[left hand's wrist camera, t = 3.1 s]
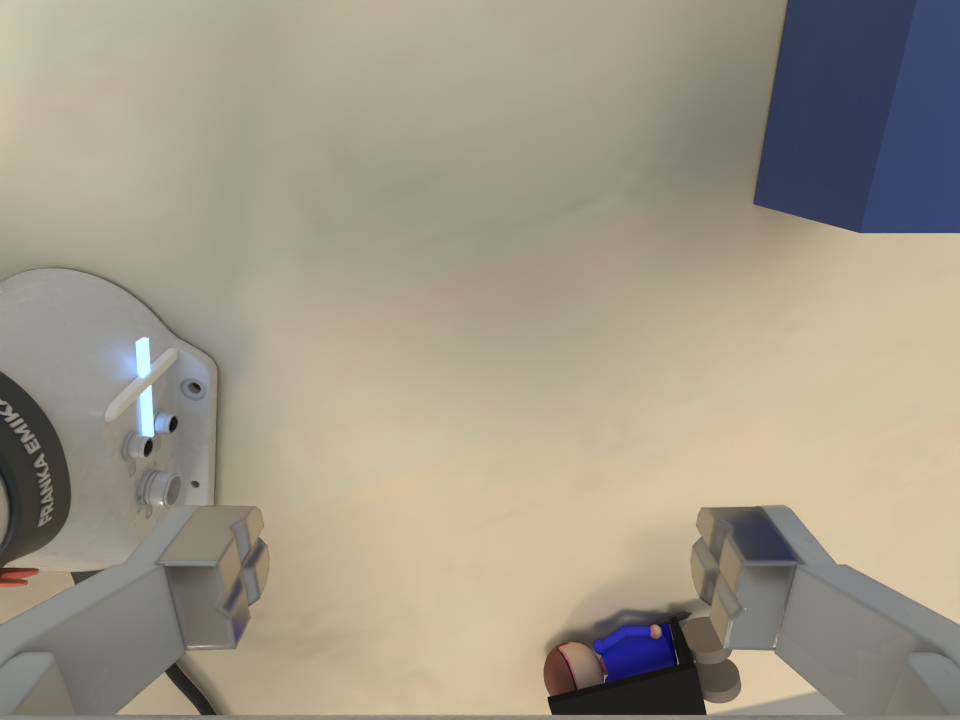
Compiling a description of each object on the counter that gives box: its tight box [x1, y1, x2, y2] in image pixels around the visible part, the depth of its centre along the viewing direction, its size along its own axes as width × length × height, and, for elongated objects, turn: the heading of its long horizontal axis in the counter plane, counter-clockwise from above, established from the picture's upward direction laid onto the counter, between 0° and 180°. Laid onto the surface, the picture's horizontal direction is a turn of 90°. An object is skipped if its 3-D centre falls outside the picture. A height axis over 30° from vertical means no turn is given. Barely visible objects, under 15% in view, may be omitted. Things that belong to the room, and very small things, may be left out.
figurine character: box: [544, 612, 741, 715], centre depth 46 cm, size 7×8×15 cm
